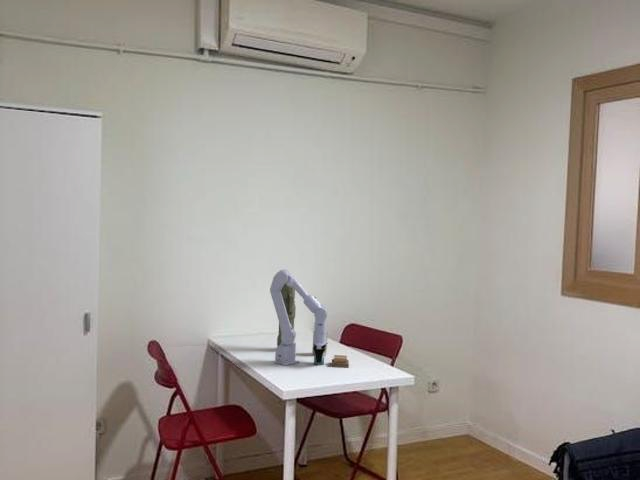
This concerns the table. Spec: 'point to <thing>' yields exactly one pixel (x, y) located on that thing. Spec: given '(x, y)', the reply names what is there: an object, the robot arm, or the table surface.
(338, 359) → the oak block
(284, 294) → the thermos
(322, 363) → the teal cylinder
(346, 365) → the walnut slab
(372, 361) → the table surface
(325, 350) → the skincare box
